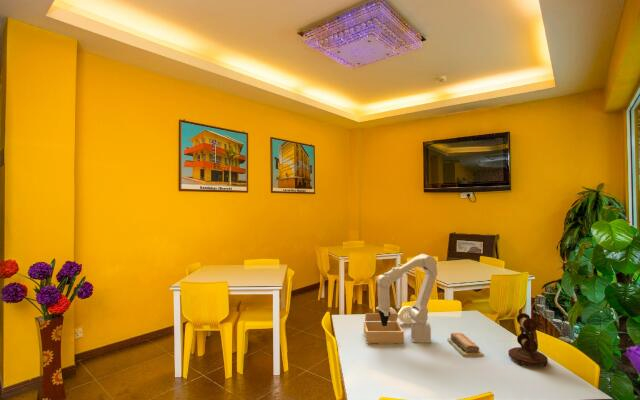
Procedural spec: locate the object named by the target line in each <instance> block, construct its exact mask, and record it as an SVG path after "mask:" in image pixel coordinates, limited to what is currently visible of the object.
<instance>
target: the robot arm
mask: <svg viewBox="0 0 640 400" xmlns="http://www.w3.org/2000/svg"><path fill="white" fill-rule="evenodd" d="M437 265H438V262H437V260H436V258H435V257H434V256H432V255H428V254H425V253H420V254H418V255H416V256H414V257H413V258H412V259H410V260H409V261H407V262H406V263H404V264H403V265H401V266H400V267H396V266H395V267H394V266H393V267H392V268H391V269H390V270H389V271H387V272H384V273H383V274H380V275H378V276H377V278H376V280H375V281H376V283H377V285H378V286H377V289H378V290H377V293H378V294H377V296H378V297H377V299H378V300H377V301H378V306H376V308H375V309H376V310H377V311H378V312H377V313H379V314H380V317H381V321H380V322H382V326H387V322H388V318H389V316H390V313H391V312H390V307H391V306H390V305H391V301H390V299H391V298H390V297H391V296H390V287H391V285H392V284H393V283H394V282H396V281H398V280H400V279H401V278H402V277H403V275H404V274H405V273H406V272H409V271H411V270H413V269H414V268H422V269H423V270H424V273H425V275H424V278H423V280H422V284H421V286H420V290H419V293H418V296H417V299H416V300H415V302H413V304H412V306H411V307H412V308H411V309H410V310H409V316H410V317H411V324H410V334H411V335H410V334H409V336H408V337H409V339H410V340H411V342H412V343H432V331H431V324H430V322H428V320H429V319H428V318H429V317H428V316H429V315H428V313H429V309H428V303H429V300H430V297H431V295H432V294H431V293H432V291H433V288H434V285H435V282H436V279H437V276H438V267H437Z"/></svg>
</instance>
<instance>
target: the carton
mask: <svg viewBox="0 0 640 400" xmlns="http://www.w3.org/2000/svg"><path fill="white" fill-rule="evenodd" d="M404 332H405V331H404V330H403V328H402V326H401V325H400V323H399V321H396V322H387V326H382V322H381V321H363V334H365V335H364V338H366V339H365V341H366V342H368V343H394V344H396V345H397V344H399V345H400V344H402V345H403V344H404V342H405V340H404V339H405V338H404V337H405V336H404V335H405V334H404Z"/></svg>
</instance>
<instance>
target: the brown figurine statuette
mask: <svg viewBox="0 0 640 400" xmlns="http://www.w3.org/2000/svg"><path fill="white" fill-rule="evenodd" d="M516 322H517V323H518V324H519V325H520V326H519V330H520V334H518V335H517V337H516V341H517V343H518V344H519V345H520V347H519V346H518V347H517V346H516V347H512V348H509V349H508V356H509V357H510V359H513V360H514V361H516V362H518V364H519V366H522V364H525V365H530V366H543V365H544V366H545V367H546V366H547V364H548V361H549V360H548V357H547V356H546V355H545V354H544V353H542V352H541V351H538V348H539V343H538V342H539V341H538V333H537V328H538V322H537V321H536V319H534V318H531V317H530V315H529V314H527V313H525V312H524V313H523V312H521V313H519V314H518V315H517V316H516ZM544 366H543V367H544Z"/></svg>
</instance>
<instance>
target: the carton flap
mask: <svg viewBox="0 0 640 400" xmlns="http://www.w3.org/2000/svg"><path fill="white" fill-rule="evenodd" d="M398 313H399V312H397V313H392V312H390V316H389V318H388V321H396V322H398V318H397V317H398ZM364 316H365V318H364V322H381V317H380V314H379V312H377V313H375V312H373V313H372V312H368V313H367V312H366V313H365V315H364Z"/></svg>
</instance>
